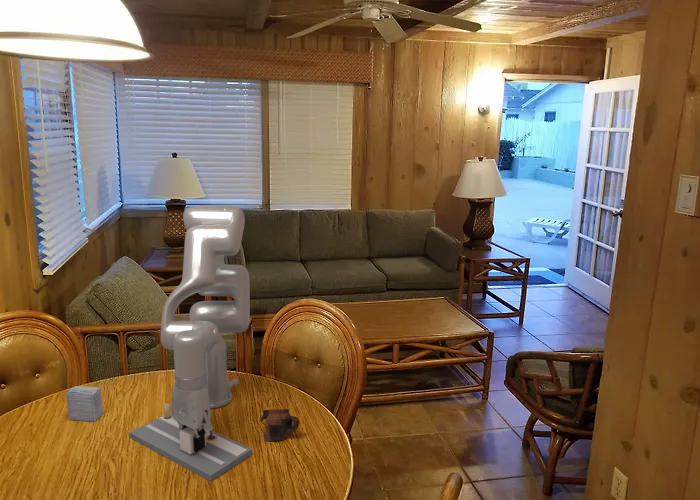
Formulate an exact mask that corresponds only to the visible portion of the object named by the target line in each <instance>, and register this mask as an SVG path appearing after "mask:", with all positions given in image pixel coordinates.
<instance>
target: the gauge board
mask: <svg viewBox="0 0 700 500" xmlns="http://www.w3.org/2000/svg"><path fill="white" fill-rule="evenodd" d="M163 410H164V411H163V412H164V415H161V417H159V418H157V419H154V420H152V421H150V422H147V423H146V424H144V425H141V426H139V427H137V428H135V429H133V430H131V431H129V432H128V438H129V439H131V440H133V441H135V442H137V443H139V444H140V445H142V446H144V447H146V448H148V449H150V450H152V451H153V452H155V453H157V454H159V455H160V456H163V457H165V458H167V459H168V460H171V462H173V463H176V464H178V465H179V466H182V467H183V468H184V469H187V470H188V471H191V472H192V473H195V474H196V475H198V476H200V477H202V478H204V479H206V480H208V481H209V482H212V481H213V480H215V479H216V478H218V477H220V476H221V475H223V474H225V473H226V472H227V471H230V469H232V468H233V467H236V465H239V464H240V463H242V462H243V461H245V460H246V459H248V458H249V457H250V456H252V455H253V449H252V448H250V447H248V446H246V445H244V444H241V443H239V442H238V441H235V440H233V439H231V438H229V437H226V436H225V435H222V434H220V433H218V432H216V431H213V430H212V435H213V437H210V431H209V432H207V433H206V446H205V447H204V448H203V449H201V450H199V451H197V452H194V453H192V454H189V453H187V452H185V451H183V450H181V449H180V433H179V431H180V430H179V424H178V422H177V421H175V420H174V419H173V418H172V411H171V403H170V402H165V403H164V405H163Z"/></svg>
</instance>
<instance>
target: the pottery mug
mask: <svg viewBox="0 0 700 500" xmlns="http://www.w3.org/2000/svg"><path fill="white" fill-rule="evenodd" d="M264 421H265V423H266V424H267V426H268V431H264V432H263V439H264V441H266V442H267V441H272V442H273V441H274V442H279V441H282V442H283V441H285V440H286V437H287V436H291V434H292V433H294V432H296V431H297V429H298V428H299V425H300V420H299V418H298V417H297V416H295V415H291V414H290V409H287V408H276V409H273V408H272V409H264V410H262V415H261V417H260V419H259V422H264Z"/></svg>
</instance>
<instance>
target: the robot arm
mask: <svg viewBox="0 0 700 500" xmlns="http://www.w3.org/2000/svg"><path fill="white" fill-rule="evenodd" d="M182 218H183V219H182V220H183V225H184V228H185V229H186V232H185V236H184V249H183V261H182V262H183V263H182V265H183V267H182V279H181V282H180V284H179V285H178V286H177V287H175V288H174V290H172V292H171V293H170V294H169V296H168V297H167V299H166V301H165V302H164V305H163V308H162V311H161V323H160V324H161V325H160V343H161V345H162V346H163V349H165V350H168V351H173V359H174V360H173V363H174V383H173V387H172V391H171V392H172V393H171V412H172V418H173V419H174V420H175V421H177V422H178V424H179V430H180V431H181V430H183V429H185V428H187V427H190V428H192V429H194V433H195V437H194V438H193V442H194V452H197V451H199V450H201V449H203V448H204V447H205V434H206V433H207V432H209V431H211V430H212V431H213V430H214V427H213V425H212V422H211V419H212V418H211V417H212V415H211V414H212V412H211V409H212V410H213V409H217V408H222V407H224V406H226V405H227V404H228V405H229V403H230V402H231V401H232V400H233V392H232V391H231V389H232V387H234V386H236V385H238V384H239V380H238V378H233V379H231V380H230V379H229V378H228V373H227V370H228V369H227V367H228V366H227V346H226V345H227V344H226V341H225V340H224V338H223V337H222V335H221V334H224V333H225V334H226V333H227V334H229V333H231V334H232V333H233V334H235V333H244V332H246V331H247V330H248V328H249V325H250V316H251V315H250V314H251V313H250V311H251V310H250V308H251V307H250V306H251V303H250V299H251V298H250V292H251V291H250V287H251V286H250V284H251V283H250V274H249V271H248V269H247V268H246V266H244V265H242V264H226V263H225V256H227V257H229V256H236V255H237V254H238V253H239V251H240V248H241V244H242V239H243V234H244V229H245V223H246V222H245V219H246V218H245V214H244V212H243V210H242V209H241V207H238V206H230V205H229V206H227V205H226V206H222V205H197V206H196V205H195V206H190V207H187V208H186V209H184V212H183V214H182ZM196 293H198V294H199V295H200V296H203V297H204V296H205V297H231V298H233V300H202V301H198V302H196V303H193V304H192V306H191V307H190V309H189V315H188V316H189V320H175V314H176V312H177V309H178V307H179V305H180V304H181V303H182V302H183V301H184V300H186V299H188V297H189V298H190V296H193V295H195V294H196ZM200 427H201V430H200V431H199V429H198V428H200Z"/></svg>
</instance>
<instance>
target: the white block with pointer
mask: <svg viewBox="0 0 700 500" xmlns="http://www.w3.org/2000/svg"><path fill="white" fill-rule="evenodd" d="M198 429H199V431H200V430H201V427H200V428H198ZM212 431H213V429H212V430H211V431H210V437H213V435H212ZM179 433H180V449H181V450H183V451H185V452H187V453H189V454H192V453H194V442H193V438H194V437H195V433H194V429H192V428H190V427H187V428H185V429H183V430H181V431H179ZM205 446H206V434H205Z"/></svg>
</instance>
